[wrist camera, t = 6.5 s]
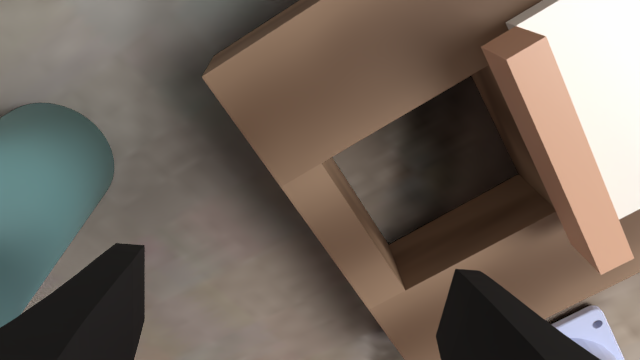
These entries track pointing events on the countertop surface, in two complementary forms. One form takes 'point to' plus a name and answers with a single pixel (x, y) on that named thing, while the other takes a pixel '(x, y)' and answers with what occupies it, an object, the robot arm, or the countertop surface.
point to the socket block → (376, 112)
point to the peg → (44, 193)
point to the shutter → (578, 113)
